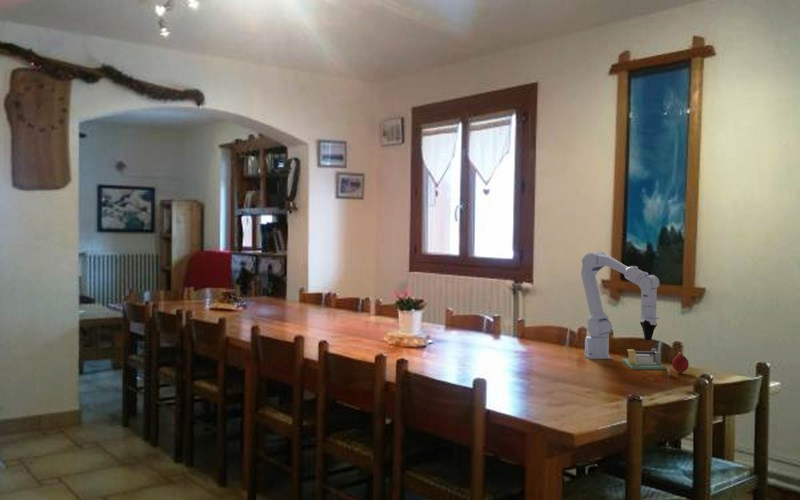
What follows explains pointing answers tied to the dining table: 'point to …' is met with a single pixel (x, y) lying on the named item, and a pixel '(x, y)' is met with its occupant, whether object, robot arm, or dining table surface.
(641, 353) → the strap
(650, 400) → the dining table surface
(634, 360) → the block
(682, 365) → the onion
